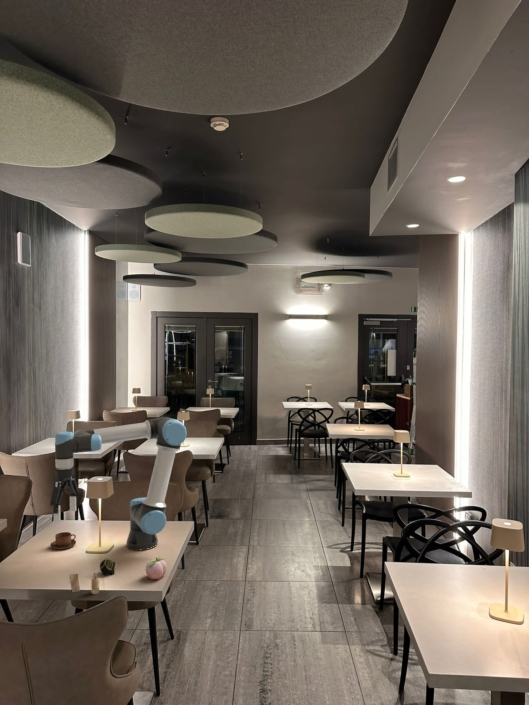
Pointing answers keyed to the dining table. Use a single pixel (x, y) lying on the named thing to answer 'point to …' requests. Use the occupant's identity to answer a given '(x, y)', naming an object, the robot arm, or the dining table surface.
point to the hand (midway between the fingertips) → (65, 515)
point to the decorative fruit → (156, 568)
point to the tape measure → (107, 567)
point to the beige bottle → (95, 584)
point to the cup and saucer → (63, 541)
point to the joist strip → (75, 582)
